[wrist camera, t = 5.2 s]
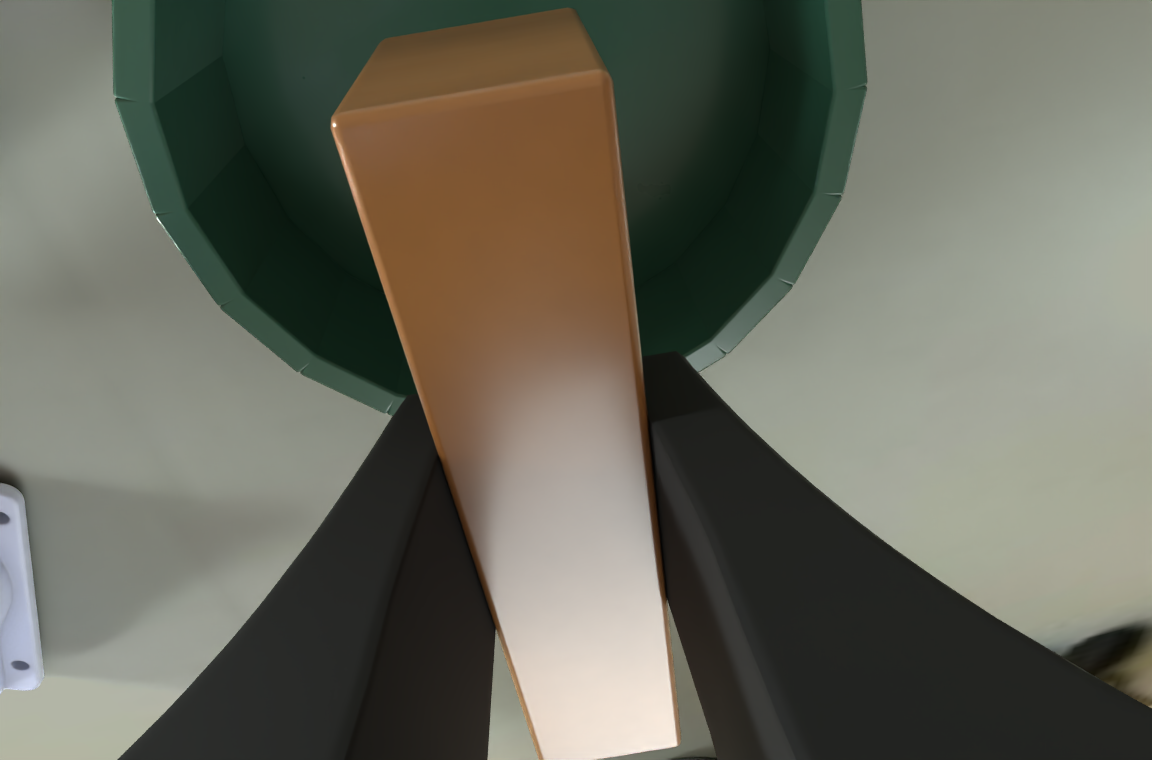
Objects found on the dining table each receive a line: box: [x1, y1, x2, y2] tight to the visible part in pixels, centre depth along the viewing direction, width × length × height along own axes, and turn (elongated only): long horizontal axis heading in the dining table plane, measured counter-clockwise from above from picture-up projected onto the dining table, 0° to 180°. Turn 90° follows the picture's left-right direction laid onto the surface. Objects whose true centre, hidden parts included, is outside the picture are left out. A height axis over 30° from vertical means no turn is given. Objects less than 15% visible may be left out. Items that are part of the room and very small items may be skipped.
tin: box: [112, 0, 867, 416], centre depth 14 cm, size 12×12×4 cm
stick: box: [330, 8, 681, 760], centre depth 9 cm, size 9×2×3 cm, turn 8°
